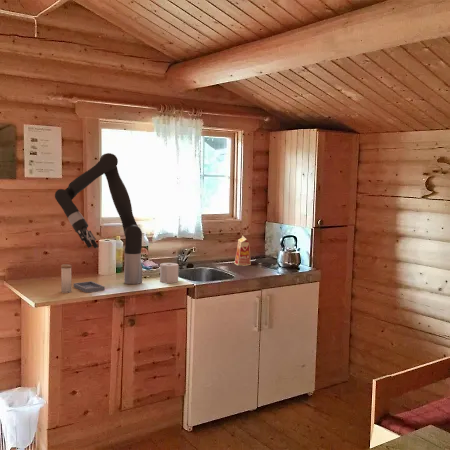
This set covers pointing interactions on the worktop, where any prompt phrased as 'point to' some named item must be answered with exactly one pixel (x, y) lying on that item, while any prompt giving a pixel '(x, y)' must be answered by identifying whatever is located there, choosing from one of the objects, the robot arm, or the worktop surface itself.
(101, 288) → the dish
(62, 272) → the canister
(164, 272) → the toilet tissue
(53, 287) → the worktop surface
